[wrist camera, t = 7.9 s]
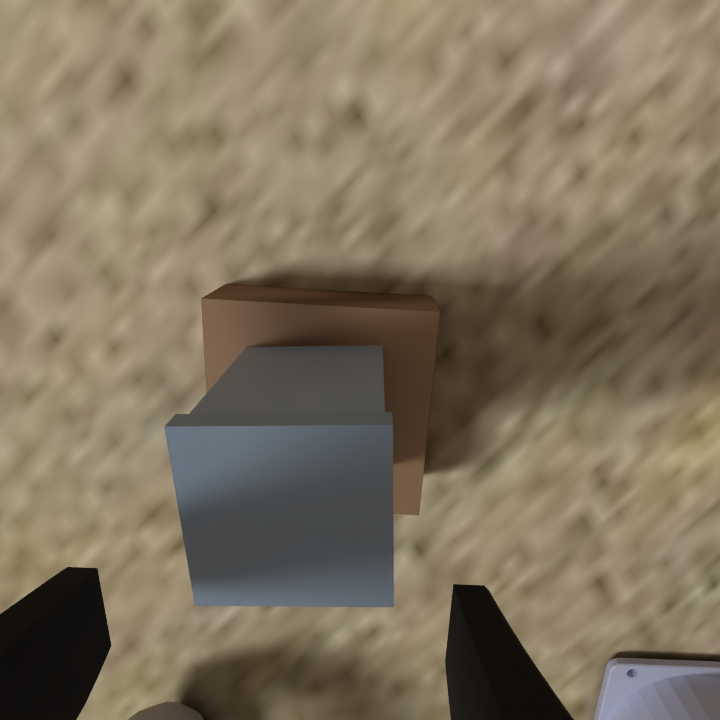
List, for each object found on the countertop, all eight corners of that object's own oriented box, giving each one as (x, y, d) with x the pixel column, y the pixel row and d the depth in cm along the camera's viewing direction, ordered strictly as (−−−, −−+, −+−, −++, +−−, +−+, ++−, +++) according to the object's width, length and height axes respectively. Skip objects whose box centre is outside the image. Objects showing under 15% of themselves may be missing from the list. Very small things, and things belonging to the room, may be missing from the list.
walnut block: (430, 293, 18) (440, 311, 15) (413, 471, 20) (419, 515, 18) (228, 282, 18) (201, 298, 15) (235, 459, 21) (212, 502, 18)
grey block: (386, 340, 16) (392, 424, 10) (388, 469, 17) (393, 606, 11) (241, 342, 16) (164, 426, 10) (255, 469, 17) (195, 605, 12)
